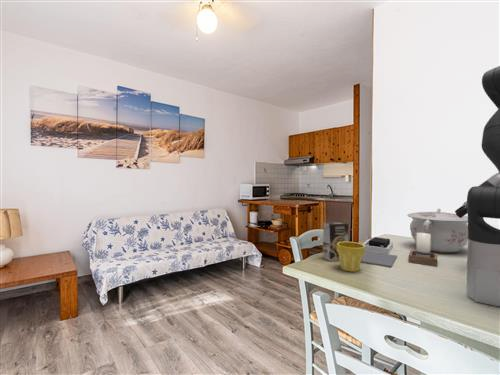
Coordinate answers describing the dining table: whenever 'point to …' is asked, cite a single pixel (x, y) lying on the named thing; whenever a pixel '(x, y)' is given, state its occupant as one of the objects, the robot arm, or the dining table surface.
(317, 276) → the dining table surface
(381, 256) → the charcoal mat
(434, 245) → the chamber pot
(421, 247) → the white capsule dome
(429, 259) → the walnut collar
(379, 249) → the grey organizer frame
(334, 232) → the coffee box
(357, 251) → the plant pot
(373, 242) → the electronic device
